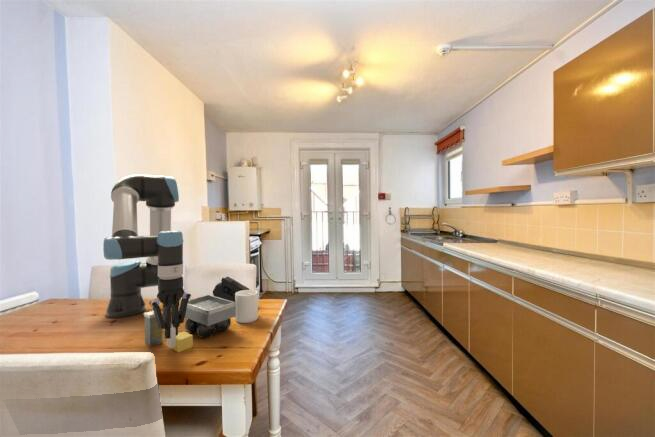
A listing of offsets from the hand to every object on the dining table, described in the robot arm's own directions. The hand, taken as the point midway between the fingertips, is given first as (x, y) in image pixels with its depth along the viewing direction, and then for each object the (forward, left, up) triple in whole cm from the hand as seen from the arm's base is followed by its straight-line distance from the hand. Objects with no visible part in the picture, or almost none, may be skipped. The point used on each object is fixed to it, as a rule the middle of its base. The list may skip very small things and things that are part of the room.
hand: (171, 346), depth 97 cm
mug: (-2, +34, -2) cm, 34 cm away
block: (0, +3, -2) cm, 4 cm away
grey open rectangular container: (-4, +16, -1) cm, 17 cm away
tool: (-21, +40, -2) cm, 46 cm away
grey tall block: (-11, -1, -1) cm, 11 cm away
